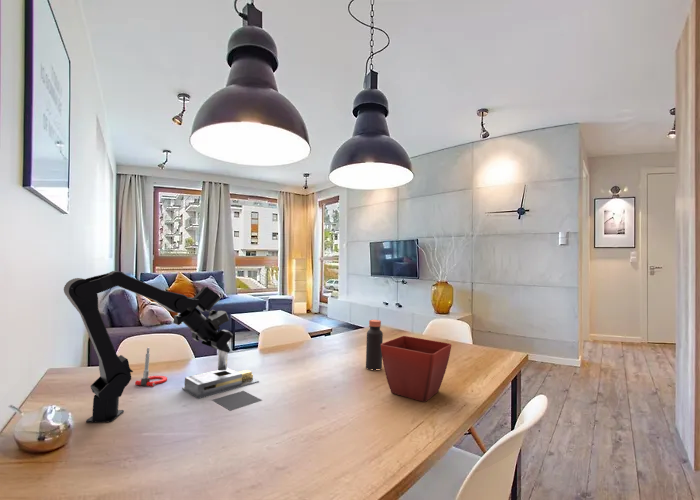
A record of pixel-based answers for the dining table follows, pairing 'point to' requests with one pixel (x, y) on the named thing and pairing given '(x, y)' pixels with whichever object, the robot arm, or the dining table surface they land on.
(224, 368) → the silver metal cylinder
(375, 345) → the bottle
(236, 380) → the windowed slide housing
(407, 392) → the plant pot
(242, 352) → the dining table surface
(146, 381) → the tow hook
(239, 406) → the rubber mat
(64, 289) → the robot arm
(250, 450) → the dining table surface
